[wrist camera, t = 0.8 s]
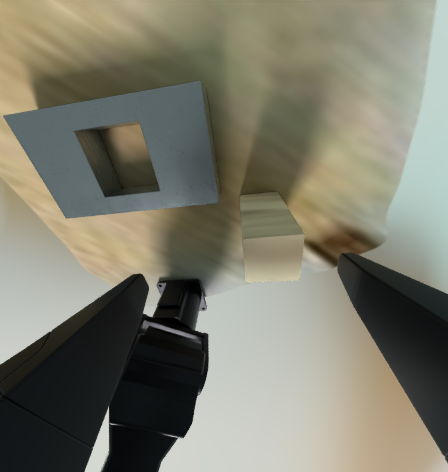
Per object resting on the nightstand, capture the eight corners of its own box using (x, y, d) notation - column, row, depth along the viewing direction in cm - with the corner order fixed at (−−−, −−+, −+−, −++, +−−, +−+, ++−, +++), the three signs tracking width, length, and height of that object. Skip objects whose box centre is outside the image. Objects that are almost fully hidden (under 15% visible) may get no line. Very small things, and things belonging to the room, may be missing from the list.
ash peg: (276, 224, 22) (299, 279, 14) (242, 227, 22) (246, 282, 14) (277, 191, 20) (304, 234, 12) (239, 195, 20) (242, 239, 12)
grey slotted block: (220, 193, 20) (218, 202, 17) (86, 207, 22) (66, 218, 19) (206, 88, 15) (200, 80, 13) (37, 117, 17) (2, 115, 15)
